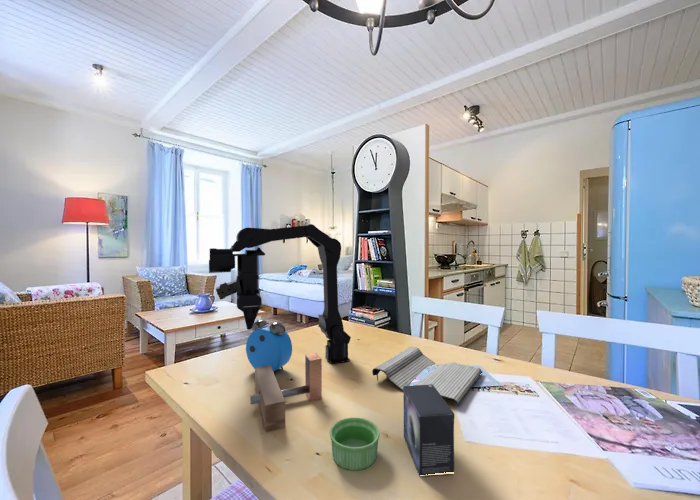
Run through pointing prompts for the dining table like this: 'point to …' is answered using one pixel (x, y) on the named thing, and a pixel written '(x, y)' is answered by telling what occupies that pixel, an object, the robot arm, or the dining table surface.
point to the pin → (312, 381)
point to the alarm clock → (268, 345)
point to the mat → (445, 378)
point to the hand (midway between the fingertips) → (248, 325)
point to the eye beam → (270, 398)
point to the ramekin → (354, 443)
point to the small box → (428, 429)
